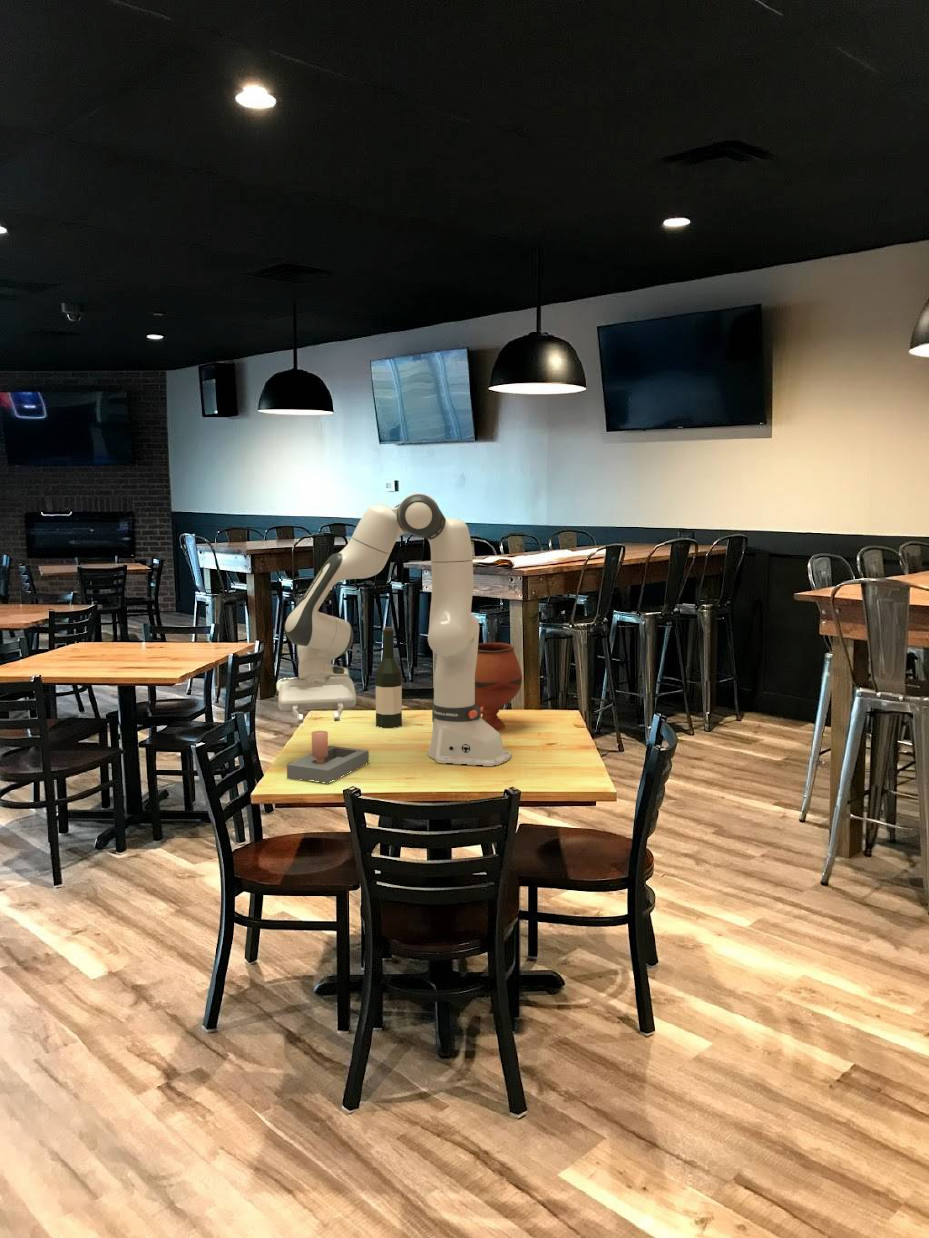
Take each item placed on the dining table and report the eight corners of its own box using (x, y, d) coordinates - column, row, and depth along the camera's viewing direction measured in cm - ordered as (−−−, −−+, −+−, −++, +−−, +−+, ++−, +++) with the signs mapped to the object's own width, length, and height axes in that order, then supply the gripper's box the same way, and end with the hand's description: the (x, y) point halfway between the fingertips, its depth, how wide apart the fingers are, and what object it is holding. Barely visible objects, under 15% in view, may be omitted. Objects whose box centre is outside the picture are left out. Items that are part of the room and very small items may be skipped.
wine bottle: (370, 726, 304) (369, 628, 300) (382, 720, 312) (381, 624, 308) (395, 729, 301) (394, 630, 297) (407, 723, 309) (406, 626, 305)
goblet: (447, 731, 299) (447, 648, 295) (472, 717, 316) (472, 639, 313) (508, 738, 291) (509, 653, 288) (530, 723, 309) (531, 643, 305)
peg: (334, 773, 256) (333, 731, 254) (323, 778, 251) (322, 736, 250) (317, 771, 258) (316, 729, 256) (306, 776, 254) (305, 733, 252)
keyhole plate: (329, 758, 270) (329, 745, 270) (368, 763, 265) (368, 750, 265) (287, 778, 252) (286, 764, 251) (328, 784, 247) (328, 770, 247)
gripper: (275, 671, 263) (277, 716, 255) (354, 668, 267) (358, 712, 259) (276, 685, 268) (277, 729, 260) (353, 681, 272) (357, 725, 264)
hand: (318, 721), depth 260 cm, fingers open, 8 cm apart
